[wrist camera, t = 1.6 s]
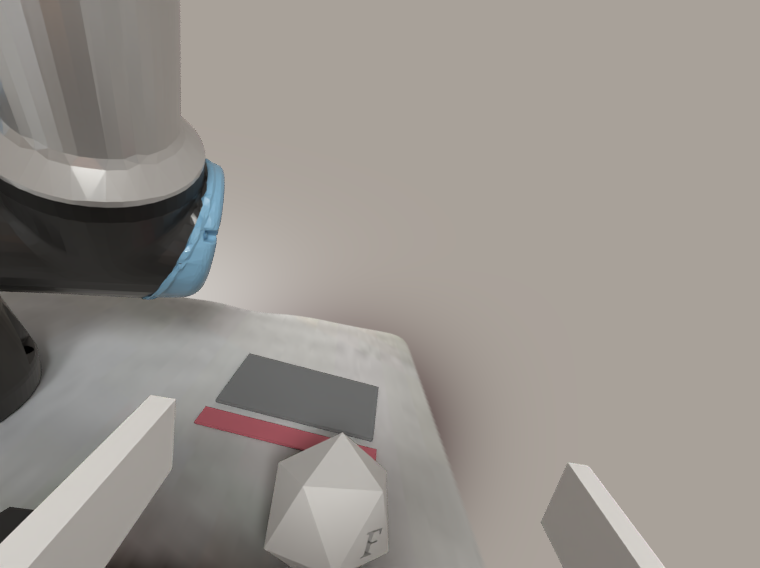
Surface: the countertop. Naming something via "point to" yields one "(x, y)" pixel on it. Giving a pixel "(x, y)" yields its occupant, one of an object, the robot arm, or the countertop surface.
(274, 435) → the line
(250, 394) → the mat
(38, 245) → the robot arm
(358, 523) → the die
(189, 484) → the countertop surface
